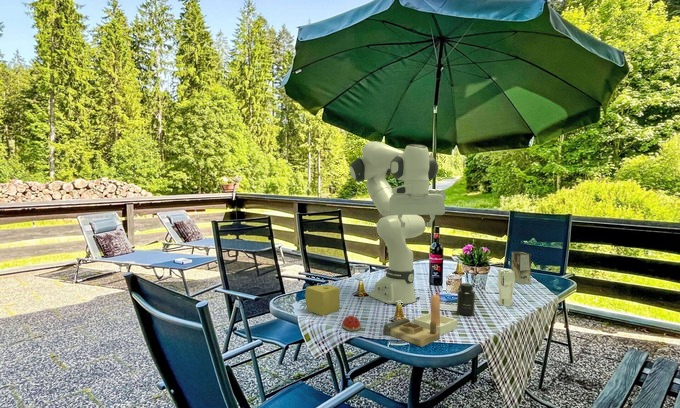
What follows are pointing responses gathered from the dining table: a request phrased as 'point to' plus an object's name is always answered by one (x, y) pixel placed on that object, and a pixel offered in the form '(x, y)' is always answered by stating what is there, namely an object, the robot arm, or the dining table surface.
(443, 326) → the tray
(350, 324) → the red domed piece
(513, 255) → the coffee box
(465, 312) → the supplement bottle
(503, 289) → the beige tall block
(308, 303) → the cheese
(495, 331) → the dining table surface
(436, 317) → the dowel
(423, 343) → the bench plate
